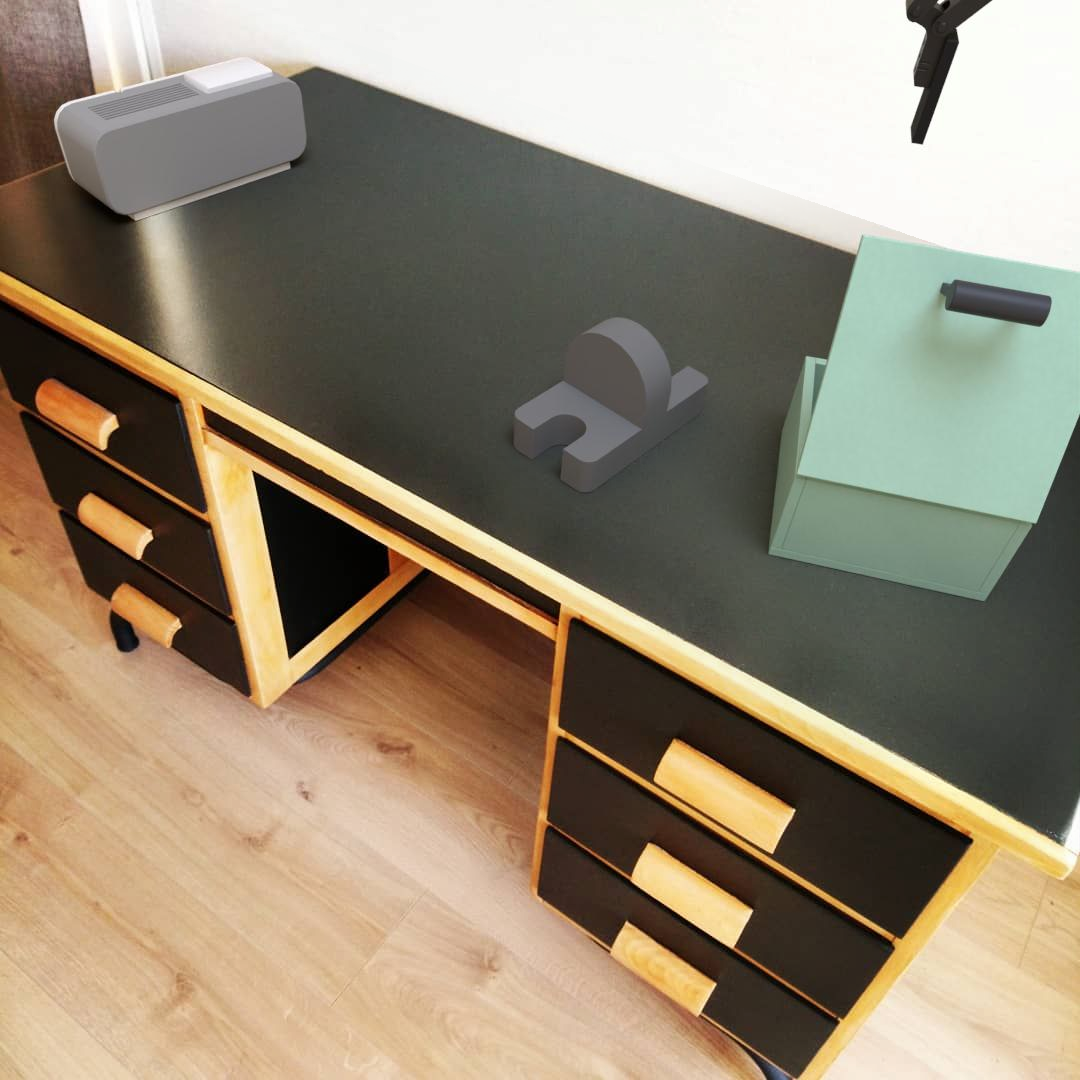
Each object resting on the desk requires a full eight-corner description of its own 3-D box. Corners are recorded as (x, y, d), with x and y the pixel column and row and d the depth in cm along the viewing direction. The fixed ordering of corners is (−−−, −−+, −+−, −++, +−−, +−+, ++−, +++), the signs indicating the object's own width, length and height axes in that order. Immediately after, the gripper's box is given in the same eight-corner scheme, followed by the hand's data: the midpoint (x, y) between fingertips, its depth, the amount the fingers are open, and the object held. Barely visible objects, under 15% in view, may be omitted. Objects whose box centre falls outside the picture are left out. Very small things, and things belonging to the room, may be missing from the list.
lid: (862, 234, 65) (872, 240, 60) (1128, 280, 63) (1163, 291, 58) (796, 471, 73) (799, 495, 67) (1033, 520, 70) (1056, 549, 65)
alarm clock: (269, 139, 127) (255, 46, 118) (310, 164, 123) (299, 68, 114) (77, 200, 113) (45, 99, 104) (116, 230, 109) (86, 127, 100)
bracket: (507, 443, 87) (512, 346, 79) (631, 365, 96) (645, 272, 88) (585, 496, 83) (597, 399, 75) (706, 409, 92) (728, 314, 84)
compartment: (781, 431, 90) (806, 355, 84) (970, 469, 88) (1010, 394, 82) (767, 554, 79) (794, 477, 73) (984, 601, 77) (1032, 526, 70)
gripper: (1426, -235, 50) (1198, 158, 65) (943, -284, 53) (835, 102, 68) (1488, -213, 44) (1225, 208, 60) (951, -269, 48) (832, 144, 63)
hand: (1017, 152), depth 64 cm, fingers open, 13 cm apart
